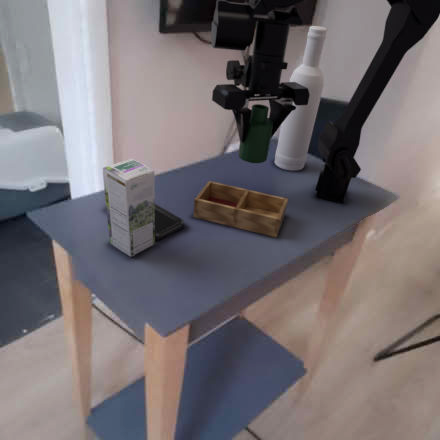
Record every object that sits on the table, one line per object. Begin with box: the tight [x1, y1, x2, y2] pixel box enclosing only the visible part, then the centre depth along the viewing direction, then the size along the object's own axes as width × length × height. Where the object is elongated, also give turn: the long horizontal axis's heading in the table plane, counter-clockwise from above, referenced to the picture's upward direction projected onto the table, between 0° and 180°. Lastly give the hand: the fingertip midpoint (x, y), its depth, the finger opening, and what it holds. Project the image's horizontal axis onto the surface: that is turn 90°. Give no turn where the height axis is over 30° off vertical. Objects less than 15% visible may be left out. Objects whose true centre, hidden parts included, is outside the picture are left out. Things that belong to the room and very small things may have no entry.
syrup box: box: [102, 158, 156, 258], centre depth 65 cm, size 6×6×14 cm
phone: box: [155, 203, 184, 241], centre depth 76 cm, size 8×1×15 cm
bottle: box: [274, 25, 328, 172], centre depth 92 cm, size 8×8×30 cm
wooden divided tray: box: [193, 180, 289, 238], centre depth 79 cm, size 17×9×4 cm, turn 73°
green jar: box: [238, 103, 274, 164], centre depth 79 cm, size 6×6×10 cm
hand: (255, 140), depth 80 cm, fingers closed on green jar, 6 cm apart
